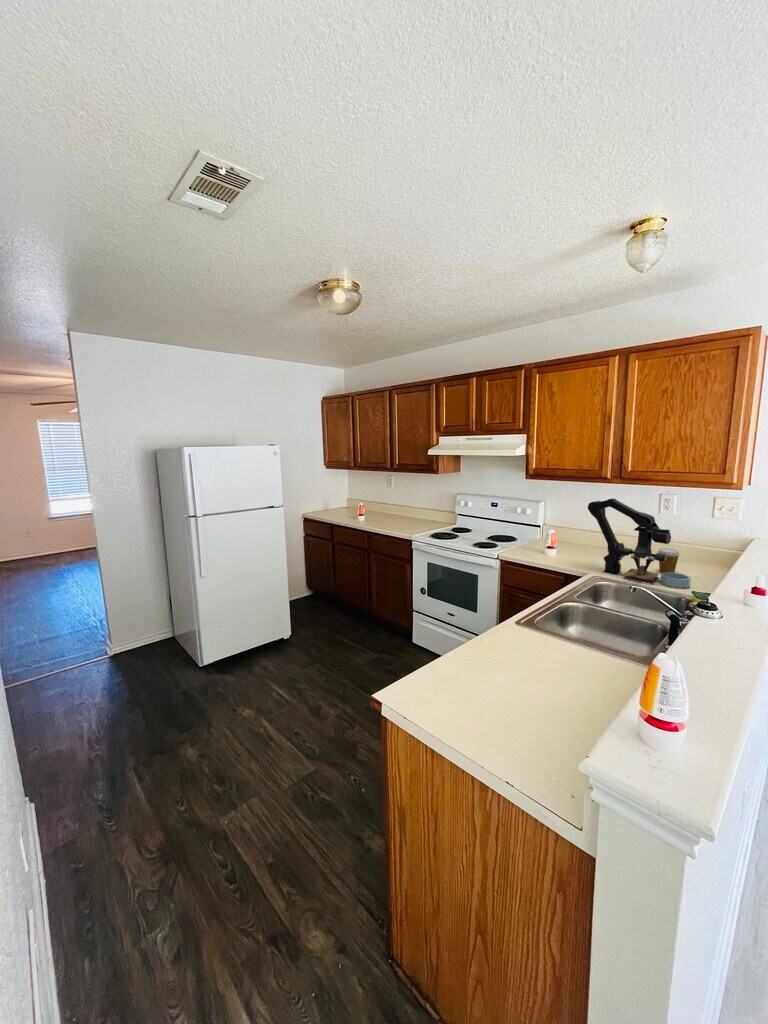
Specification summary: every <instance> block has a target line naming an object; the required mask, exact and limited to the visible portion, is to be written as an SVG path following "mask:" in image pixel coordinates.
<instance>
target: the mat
mask: <svg viewBox="0 0 768 1024" xmlns="http://www.w3.org/2000/svg"><path fill="white" fill-rule="evenodd" d="M659 578H660V579H661V576H660V577H659V576H657V577H656V578H655V579H654V580H647V579H642V578H636V577H631V576H626V575H624V576H623V577H622V579H623V580H626V579H628V580H627V581H631V580H634V581H633V582H637V581H640V582H639V583H642V582H645V583H644V584H647V583H649V584H648V585H653V584H654V583H655V582H656V581H657V580H658V579H659ZM660 579H659V580H660ZM659 580H658V581H659ZM658 581H657V582H658ZM657 582H656V583H657ZM656 583H655V584H656ZM655 584H654V585H655Z"/></svg>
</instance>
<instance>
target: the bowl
mask: <svg viewBox="0 0 768 1024" xmlns="http://www.w3.org/2000/svg"><path fill="white" fill-rule="evenodd" d="M659 580H660V581H659V582H660V584H661V585H663V586H665V585H666V586H665V587H668V586H669V587H668V588H672V587H673V589H679V588H686V589H688V587H690V586H691V581H692V577H691V576H689V575H686V574H684V573H678V572H674V573H660V579H659Z"/></svg>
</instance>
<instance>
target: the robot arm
mask: <svg viewBox="0 0 768 1024" xmlns="http://www.w3.org/2000/svg"><path fill="white" fill-rule="evenodd" d="M607 508H612V509H614V510H615V511H617V512H619V513H621V514H623V515H625V516H626V517H629V518H630V519H631V520H632V521H633V522H634V523H635V524H637V527H636V528H634V529H633V531H636V532H638V534H637V536H638V537H637V543H636V547H635V548H634V549H633V548H629V547H625V545H624V542H621V543H620V542H619V541H618V540H617V537H616V536H615V533H614V531H613V529H612V527H611V525H610V523H609V520H608V518H607V516H606V509H607ZM587 509H588V511H589V513H590V514H591V516H592V517H593V518H595V520H596V522H597V524H598V526H599V528H600V531H601V533H602V534H603V537H604V540H605V541H606V543H607V554H606V555H605V556H604V557H603V561H604V562H605V563H604V570H603V573H607V574H613V575H618V574H619V573H621V571H622V564H621V560H622V559H623V558H624V557H625V556H626V557H627V556H629V555H631V556H630V558H631V559H633V560H634V563H635V565H636V569H637V568H639V567H640V566H641V559H645V565H644V566H645V572H646V570H647V571H648V568H649V567H650V565H651V564H652V562H654V561H655V560H656V561H658V562H659V561H665V560H666V559H667V555H666V554H664V553H658V552H657V553H652V552H653V551H652V549H651V548H652V541H653V542H654V543H658V544H665V545H669V544H670V543H671V541H672V535H671V532H670V531H671V530H670V529H668V528H667V529H662V528H660V527H659V525H658V524H657V523H656V519H655V516H653V515H652V514H648V513H646V512H641V511H638V510H636V509H634V508H633V507H630V506H628V505H626V504H625V503H623V502H621V501H620V500H617V499H616V498H609V499H605V500H594V501H591V502H589V503H588V505H587Z"/></svg>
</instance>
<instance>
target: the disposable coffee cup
mask: <svg viewBox="0 0 768 1024" xmlns="http://www.w3.org/2000/svg"><path fill="white" fill-rule="evenodd" d="M657 553H664V554H666V555H667V559H666V560H665V561H658V566H659V567H658V568H659V569H658V570H659V573H660V572H661V573H660V574H662V573H676V568H677V563H678V560H679V556H680V555H681V554H680V551H679V550H677V549H673V548H659V549H658V550H657Z"/></svg>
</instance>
